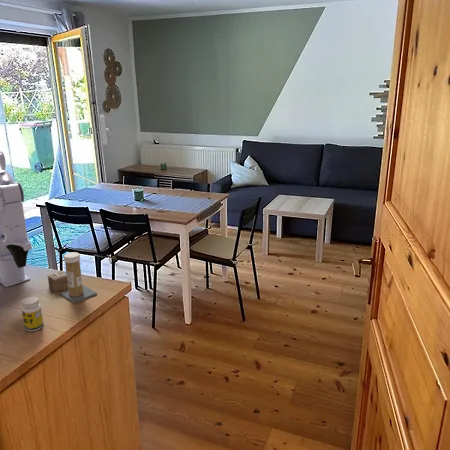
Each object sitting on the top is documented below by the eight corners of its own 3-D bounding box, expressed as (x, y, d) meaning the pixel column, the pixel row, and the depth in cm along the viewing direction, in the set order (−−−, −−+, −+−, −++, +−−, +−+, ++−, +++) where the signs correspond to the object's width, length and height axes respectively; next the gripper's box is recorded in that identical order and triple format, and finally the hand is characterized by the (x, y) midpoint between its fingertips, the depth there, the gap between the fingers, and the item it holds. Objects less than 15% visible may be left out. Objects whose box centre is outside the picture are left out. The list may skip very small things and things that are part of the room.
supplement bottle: (20, 329, 115) (16, 302, 112) (33, 321, 119) (29, 294, 117) (34, 333, 114) (30, 305, 111) (47, 324, 118) (43, 297, 115)
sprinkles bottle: (85, 294, 133) (81, 255, 129) (71, 298, 131) (66, 258, 126) (80, 288, 137) (76, 250, 132) (66, 292, 134) (61, 253, 130)
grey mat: (60, 294, 134) (60, 293, 134) (83, 286, 140) (83, 284, 139) (73, 303, 129) (73, 301, 129) (96, 294, 134) (96, 292, 134)
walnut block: (49, 287, 138) (47, 274, 137) (62, 283, 142) (60, 270, 140) (56, 292, 136) (54, 279, 134) (69, 287, 139) (67, 274, 137)
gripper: (-10, 222, 127) (-2, 263, 131) (10, 232, 117) (18, 277, 122) (15, 217, 132) (21, 257, 136) (36, 227, 122) (42, 270, 126)
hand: (21, 266), depth 129 cm, fingers closed
